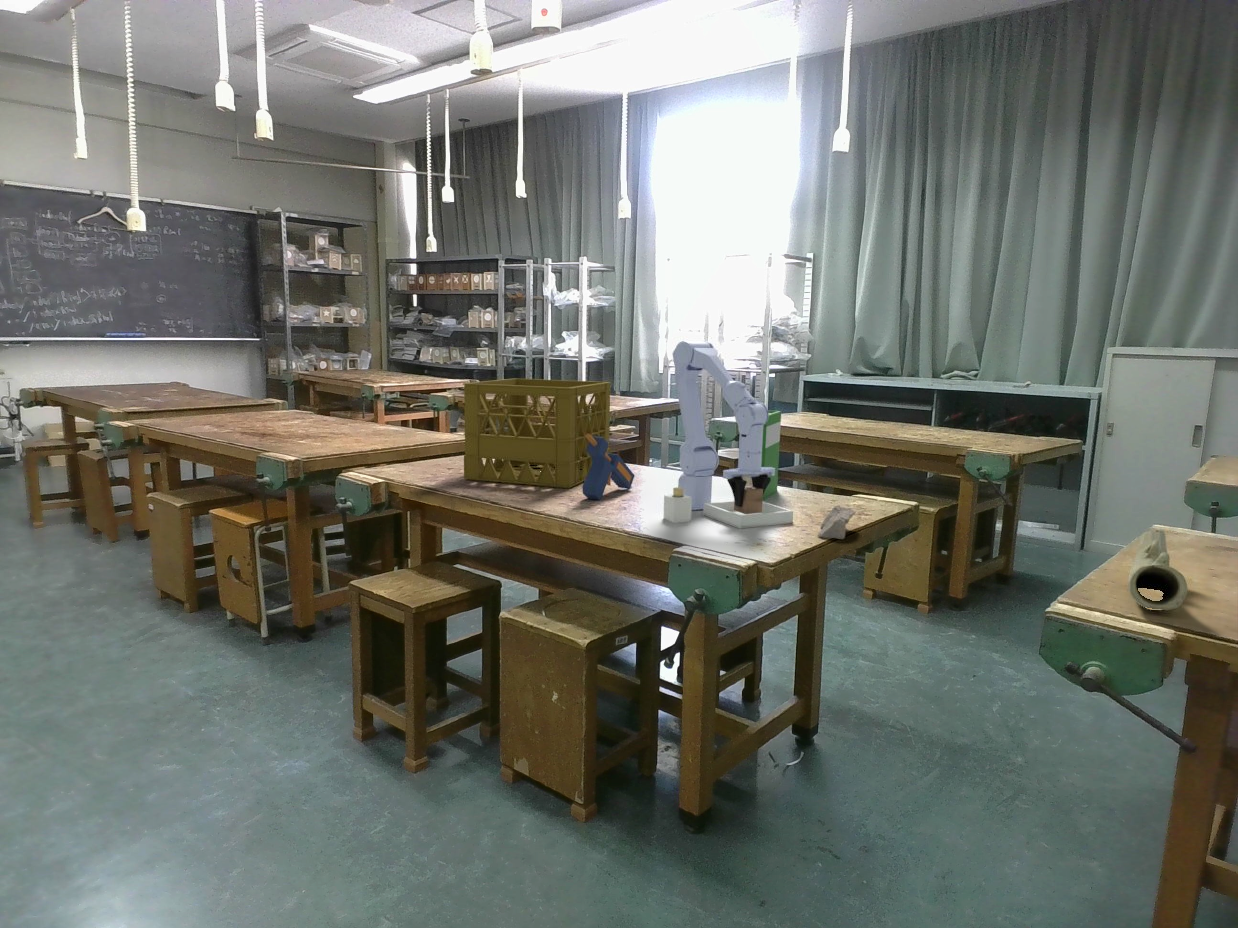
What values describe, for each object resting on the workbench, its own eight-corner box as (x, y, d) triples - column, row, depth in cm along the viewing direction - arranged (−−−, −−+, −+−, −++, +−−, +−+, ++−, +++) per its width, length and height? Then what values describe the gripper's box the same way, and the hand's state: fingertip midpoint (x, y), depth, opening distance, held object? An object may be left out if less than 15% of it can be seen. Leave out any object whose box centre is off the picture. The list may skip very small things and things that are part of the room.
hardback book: (762, 501, 222) (767, 416, 218) (737, 498, 225) (740, 414, 221) (777, 490, 238) (781, 411, 234) (752, 488, 241) (756, 409, 237)
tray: (703, 514, 203) (703, 503, 203) (753, 509, 210) (754, 498, 210) (739, 528, 189) (740, 516, 189) (792, 522, 196) (793, 511, 196)
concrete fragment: (812, 537, 183) (813, 512, 182) (829, 525, 195) (831, 501, 194) (842, 542, 179) (844, 515, 178) (858, 529, 191) (860, 505, 190)
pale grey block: (663, 518, 198) (664, 487, 197) (680, 516, 201) (681, 485, 199) (673, 522, 194) (674, 490, 193) (691, 521, 196) (692, 489, 195)
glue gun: (623, 525, 233) (639, 481, 238) (586, 478, 208) (605, 429, 213) (605, 522, 235) (621, 478, 241) (566, 475, 210) (585, 427, 216)
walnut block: (733, 510, 200) (735, 486, 199) (750, 508, 203) (751, 485, 202) (745, 514, 196) (746, 490, 195) (761, 512, 198) (763, 488, 197)
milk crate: (463, 480, 245) (462, 383, 240) (514, 464, 278) (514, 378, 273) (569, 489, 233) (571, 388, 229) (609, 471, 267) (611, 382, 262)
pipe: (1185, 621, 132) (1193, 562, 130) (1126, 612, 135) (1133, 555, 134) (1159, 577, 156) (1166, 528, 155) (1110, 571, 160) (1116, 522, 159)
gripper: (735, 455, 190) (733, 510, 192) (783, 452, 197) (780, 506, 199) (719, 451, 196) (716, 504, 199) (766, 448, 203) (763, 500, 205)
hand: (747, 505), depth 199 cm, fingers closed on walnut block, 5 cm apart
